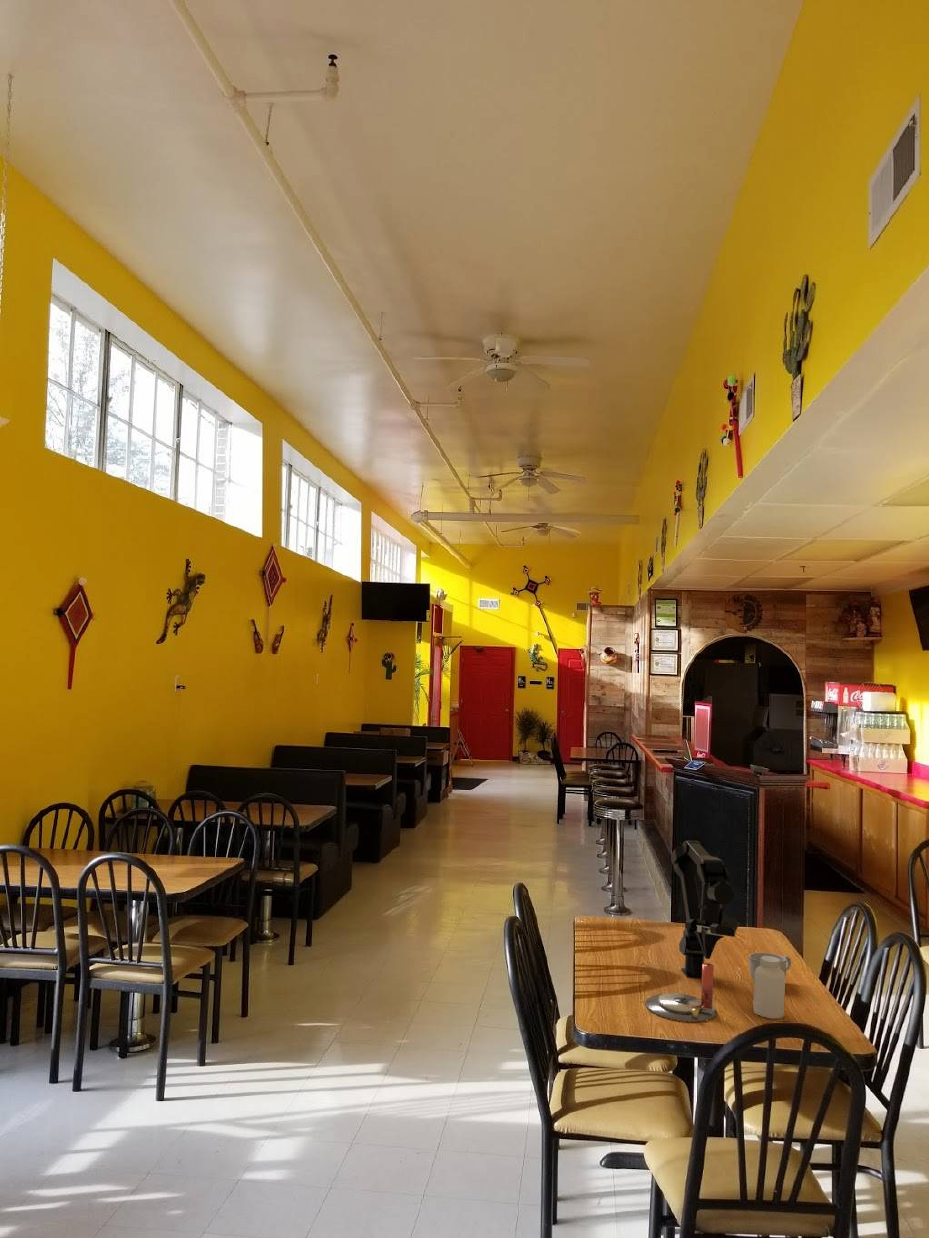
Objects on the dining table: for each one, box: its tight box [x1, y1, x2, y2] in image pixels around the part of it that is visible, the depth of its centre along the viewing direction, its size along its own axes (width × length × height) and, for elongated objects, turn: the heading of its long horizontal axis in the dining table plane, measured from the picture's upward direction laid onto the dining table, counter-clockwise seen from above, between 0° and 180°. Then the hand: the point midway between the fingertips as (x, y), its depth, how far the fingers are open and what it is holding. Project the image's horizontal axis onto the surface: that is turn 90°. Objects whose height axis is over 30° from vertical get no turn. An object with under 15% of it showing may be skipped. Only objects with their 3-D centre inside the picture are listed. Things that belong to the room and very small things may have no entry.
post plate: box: [645, 993, 717, 1023], centre depth 249 cm, size 19×19×3 cm
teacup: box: [748, 952, 792, 981], centre depth 274 cm, size 14×11×8 cm
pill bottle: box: [752, 956, 786, 1020], centre depth 248 cm, size 8×8×15 cm
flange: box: [658, 962, 716, 1014], centre depth 248 cm, size 15×12×12 cm
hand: (707, 958), depth 261 cm, fingers closed
